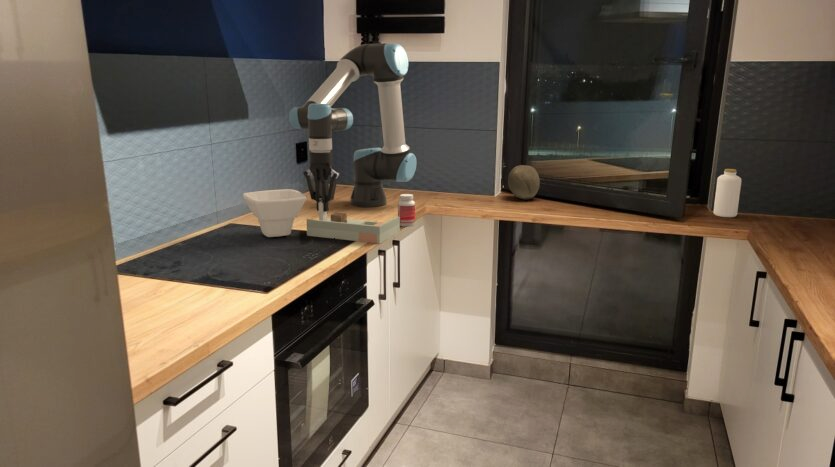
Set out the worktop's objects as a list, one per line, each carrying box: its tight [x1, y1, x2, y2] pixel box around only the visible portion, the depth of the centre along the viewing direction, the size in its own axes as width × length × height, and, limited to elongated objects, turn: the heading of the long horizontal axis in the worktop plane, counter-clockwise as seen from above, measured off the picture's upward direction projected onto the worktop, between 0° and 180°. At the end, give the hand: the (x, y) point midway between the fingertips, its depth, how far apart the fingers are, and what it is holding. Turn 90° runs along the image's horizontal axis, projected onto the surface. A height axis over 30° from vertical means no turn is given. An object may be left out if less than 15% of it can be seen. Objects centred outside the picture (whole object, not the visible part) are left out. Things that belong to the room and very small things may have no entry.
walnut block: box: [330, 212, 348, 223], centre depth 212 cm, size 4×4×4 cm
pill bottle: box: [397, 193, 416, 228], centre depth 225 cm, size 6×6×11 cm
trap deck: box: [306, 216, 401, 244], centre depth 213 cm, size 16×27×6 cm, turn 68°
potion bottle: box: [713, 168, 742, 218], centre depth 241 cm, size 8×8×18 cm
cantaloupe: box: [507, 164, 541, 201], centre depth 273 cm, size 14×14×15 cm
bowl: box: [242, 188, 307, 238], centre depth 209 cm, size 19×19×14 cm
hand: (323, 220), depth 213 cm, fingers closed
